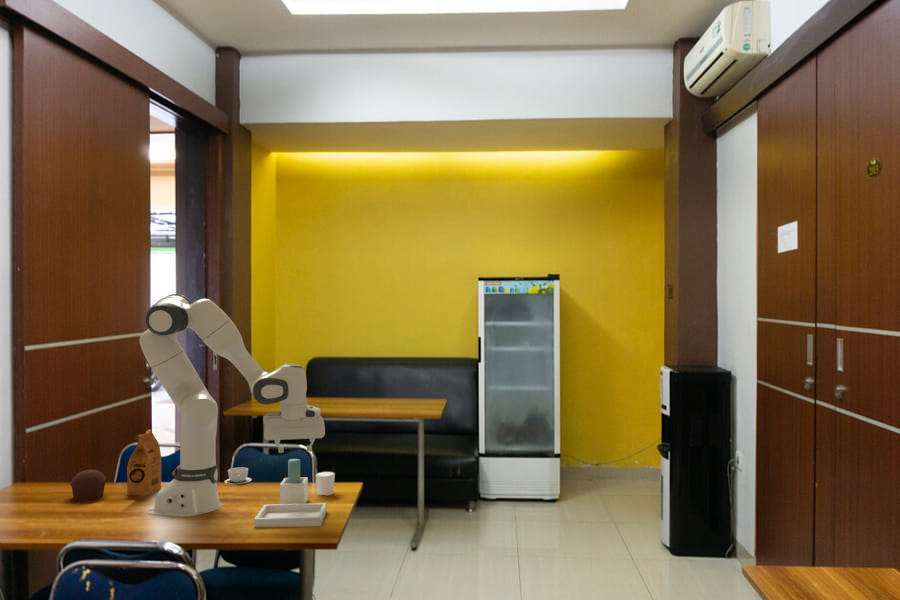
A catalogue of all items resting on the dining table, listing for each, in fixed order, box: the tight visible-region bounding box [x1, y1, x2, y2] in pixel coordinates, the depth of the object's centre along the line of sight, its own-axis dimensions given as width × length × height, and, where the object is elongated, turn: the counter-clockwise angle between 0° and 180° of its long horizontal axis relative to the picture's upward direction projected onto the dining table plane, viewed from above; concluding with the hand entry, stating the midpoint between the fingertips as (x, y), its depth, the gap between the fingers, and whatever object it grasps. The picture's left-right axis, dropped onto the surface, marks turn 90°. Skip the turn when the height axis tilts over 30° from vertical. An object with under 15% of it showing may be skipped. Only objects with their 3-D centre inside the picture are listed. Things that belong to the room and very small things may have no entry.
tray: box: [253, 502, 327, 528], centre depth 201 cm, size 20×14×3 cm
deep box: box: [279, 476, 309, 504], centre depth 216 cm, size 8×8×8 cm
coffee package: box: [126, 429, 162, 497], centre depth 230 cm, size 10×12×22 cm
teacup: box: [224, 466, 253, 485], centre depth 244 cm, size 10×10×5 cm
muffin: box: [69, 469, 108, 501], centre depth 222 cm, size 12×11×10 cm
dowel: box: [287, 458, 301, 483], centre depth 216 cm, size 4×4×14 cm
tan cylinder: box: [315, 471, 336, 496], centre depth 229 cm, size 7×7×7 cm
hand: (295, 451), depth 217 cm, fingers open, 8 cm apart
